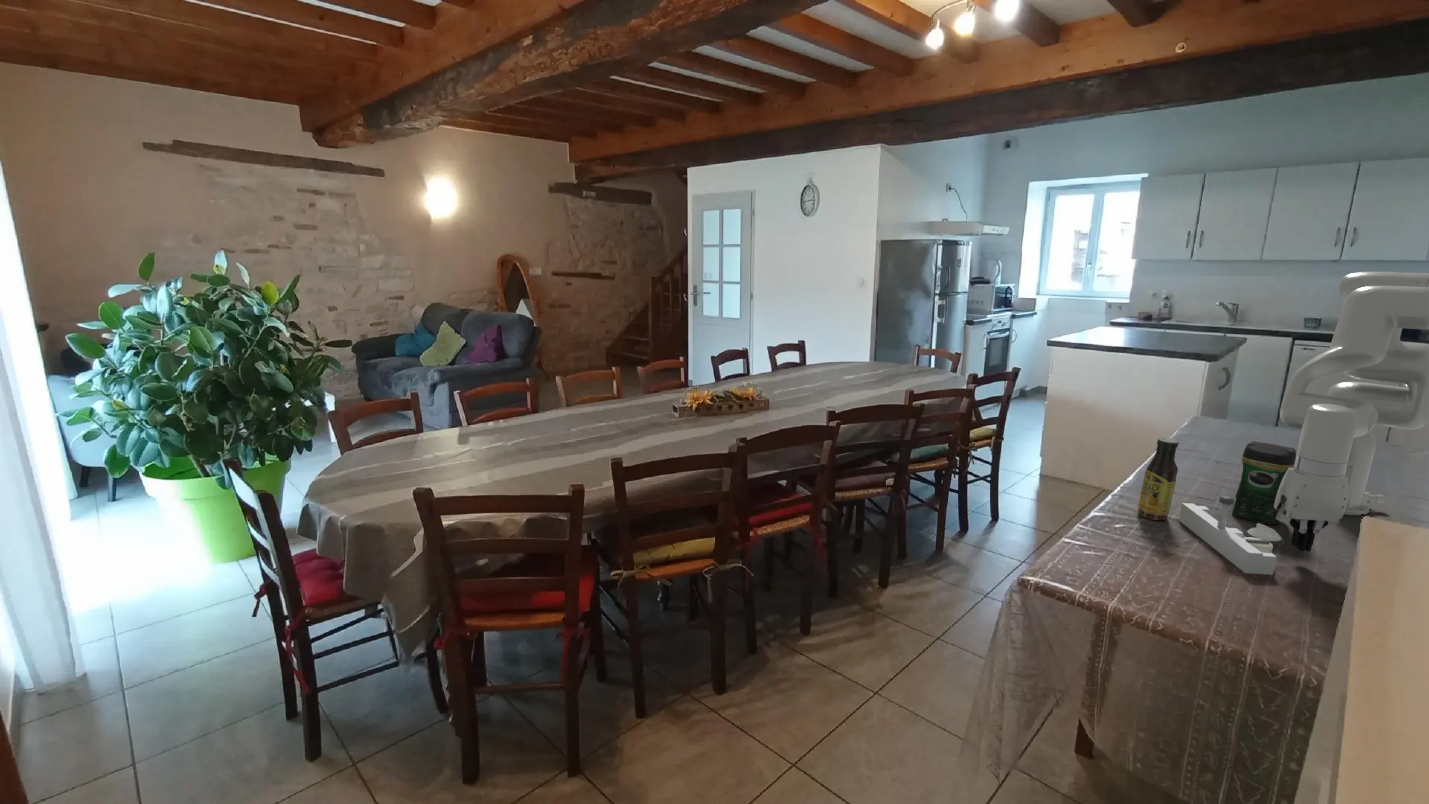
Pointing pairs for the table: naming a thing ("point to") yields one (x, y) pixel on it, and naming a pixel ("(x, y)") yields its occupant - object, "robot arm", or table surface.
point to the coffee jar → (1262, 480)
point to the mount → (1226, 537)
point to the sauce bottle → (1159, 481)
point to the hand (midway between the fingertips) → (1300, 547)
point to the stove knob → (1265, 534)
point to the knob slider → (1260, 544)
